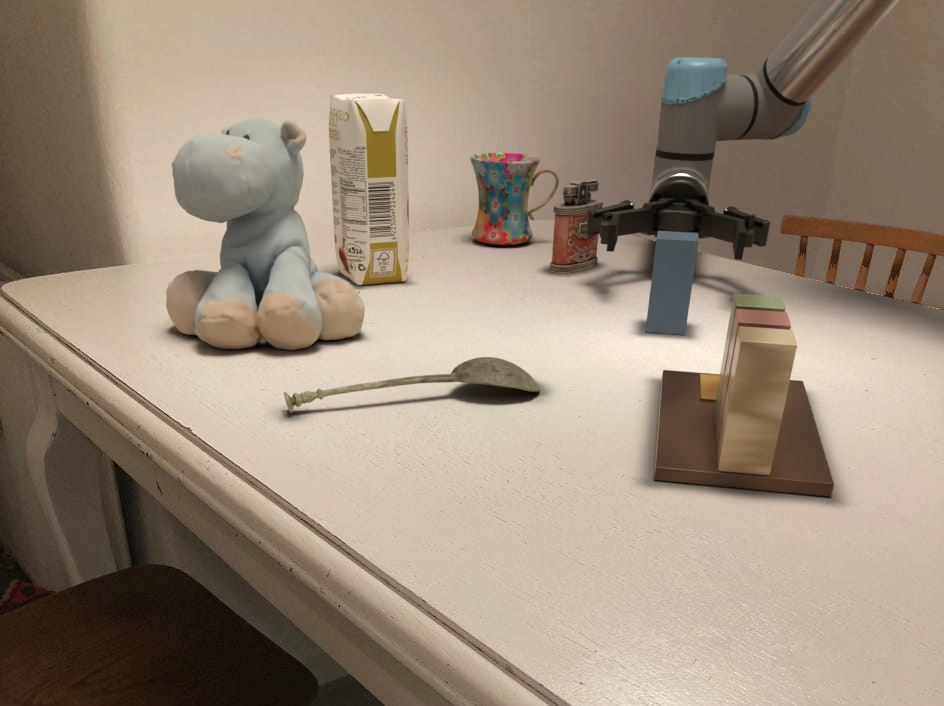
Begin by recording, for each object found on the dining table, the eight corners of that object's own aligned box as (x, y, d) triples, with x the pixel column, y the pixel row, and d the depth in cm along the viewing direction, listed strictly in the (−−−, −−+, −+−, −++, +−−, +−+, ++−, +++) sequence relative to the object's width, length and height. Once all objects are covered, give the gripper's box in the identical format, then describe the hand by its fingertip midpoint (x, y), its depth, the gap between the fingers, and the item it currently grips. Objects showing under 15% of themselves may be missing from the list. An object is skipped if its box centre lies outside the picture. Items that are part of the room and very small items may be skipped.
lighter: (565, 274, 118) (571, 186, 113) (543, 270, 120) (548, 182, 115) (603, 264, 123) (611, 179, 118) (582, 260, 125) (589, 175, 120)
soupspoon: (552, 407, 81) (522, 386, 86) (555, 367, 79) (524, 348, 85) (292, 424, 74) (277, 400, 80) (290, 381, 73) (275, 359, 78)
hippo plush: (135, 336, 93) (98, 123, 83) (293, 289, 109) (278, 106, 99) (275, 372, 85) (254, 140, 75) (424, 316, 101) (423, 118, 91)
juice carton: (354, 288, 111) (346, 99, 100) (331, 271, 117) (321, 93, 107) (415, 283, 113) (413, 98, 103) (389, 267, 120) (385, 92, 109)
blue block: (685, 324, 101) (698, 232, 96) (685, 335, 97) (698, 240, 92) (646, 321, 101) (657, 230, 96) (645, 332, 98) (656, 238, 93)
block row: (800, 391, 84) (827, 271, 78) (831, 497, 66) (868, 351, 60) (661, 380, 85) (677, 262, 80) (653, 480, 67) (673, 336, 62)
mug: (467, 247, 130) (468, 160, 124) (469, 234, 138) (471, 151, 132) (555, 250, 130) (561, 163, 124) (553, 236, 137) (559, 154, 132)
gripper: (774, 245, 120) (788, 286, 103) (575, 233, 124) (556, 271, 106) (787, 180, 116) (803, 210, 98) (580, 169, 120) (561, 197, 102)
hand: (675, 242), depth 102 cm, fingers open, 13 cm apart
